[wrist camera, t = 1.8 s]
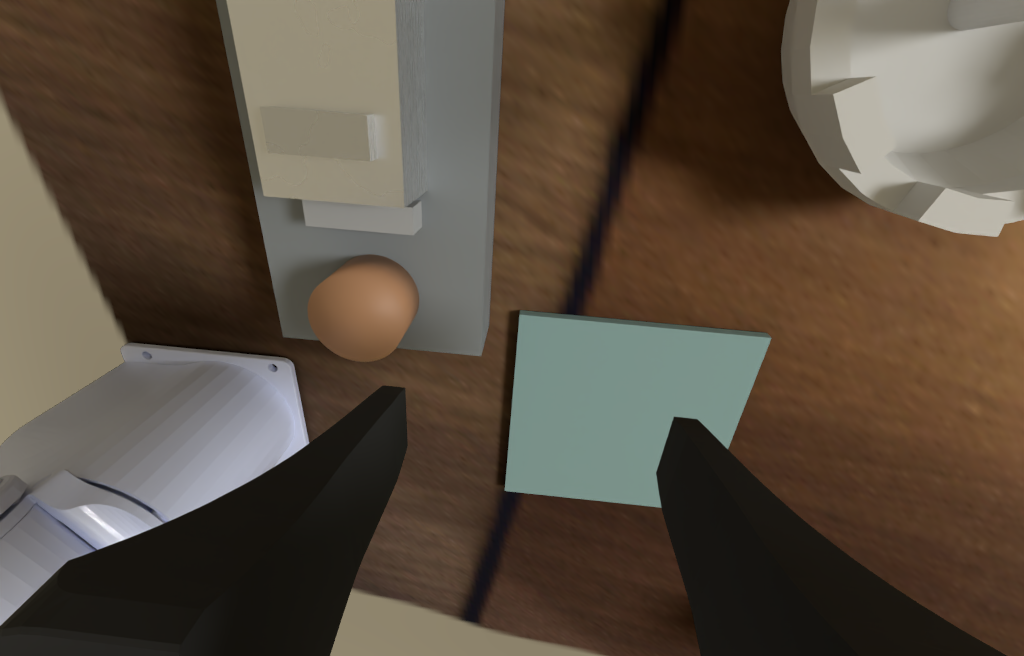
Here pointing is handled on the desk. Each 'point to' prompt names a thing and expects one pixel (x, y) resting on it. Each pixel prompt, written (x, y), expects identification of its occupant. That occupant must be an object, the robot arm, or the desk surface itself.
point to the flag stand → (914, 104)
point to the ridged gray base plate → (400, 214)
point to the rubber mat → (618, 400)
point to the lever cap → (335, 97)
